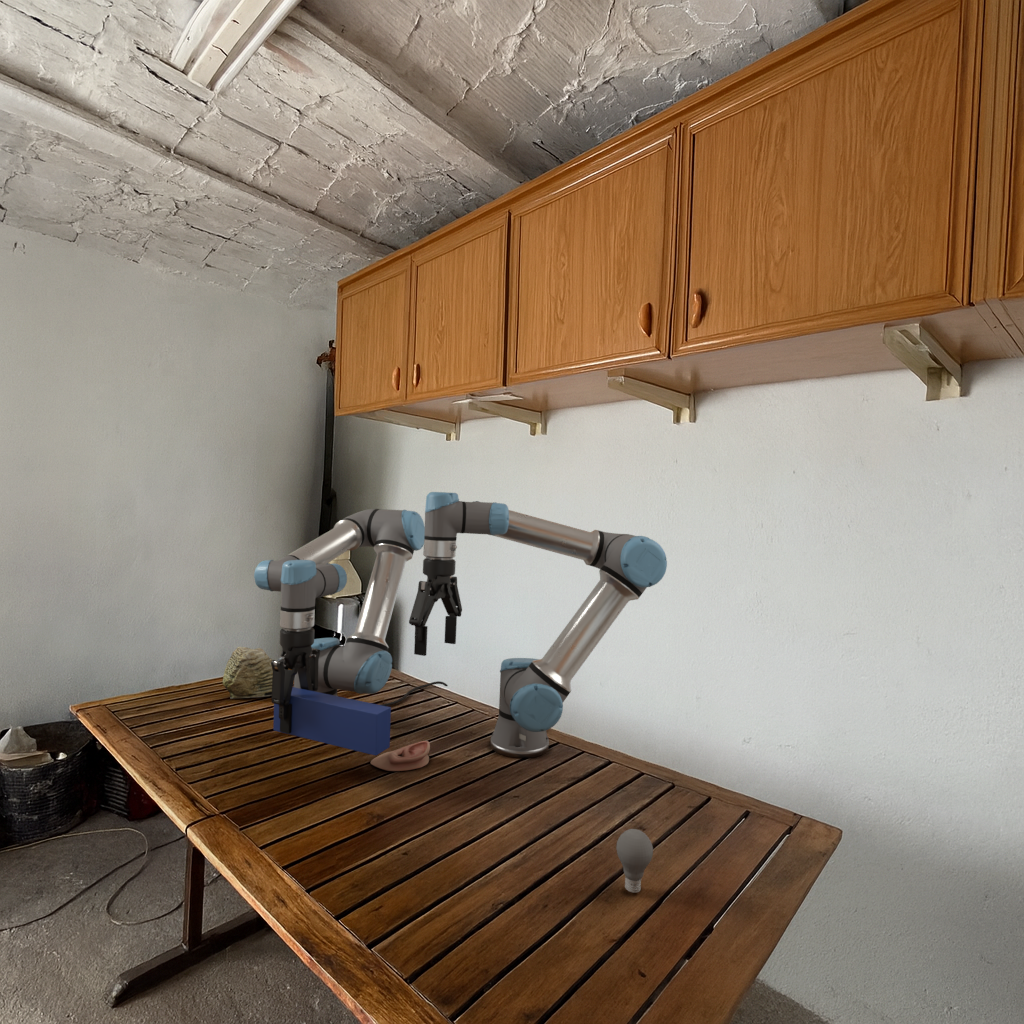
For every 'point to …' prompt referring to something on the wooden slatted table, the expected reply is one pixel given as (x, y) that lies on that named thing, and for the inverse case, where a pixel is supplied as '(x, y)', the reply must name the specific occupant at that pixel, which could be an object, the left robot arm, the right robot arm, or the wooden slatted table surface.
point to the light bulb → (634, 857)
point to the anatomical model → (404, 757)
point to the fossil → (248, 673)
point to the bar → (338, 721)
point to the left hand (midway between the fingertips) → (294, 727)
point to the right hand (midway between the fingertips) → (435, 648)
